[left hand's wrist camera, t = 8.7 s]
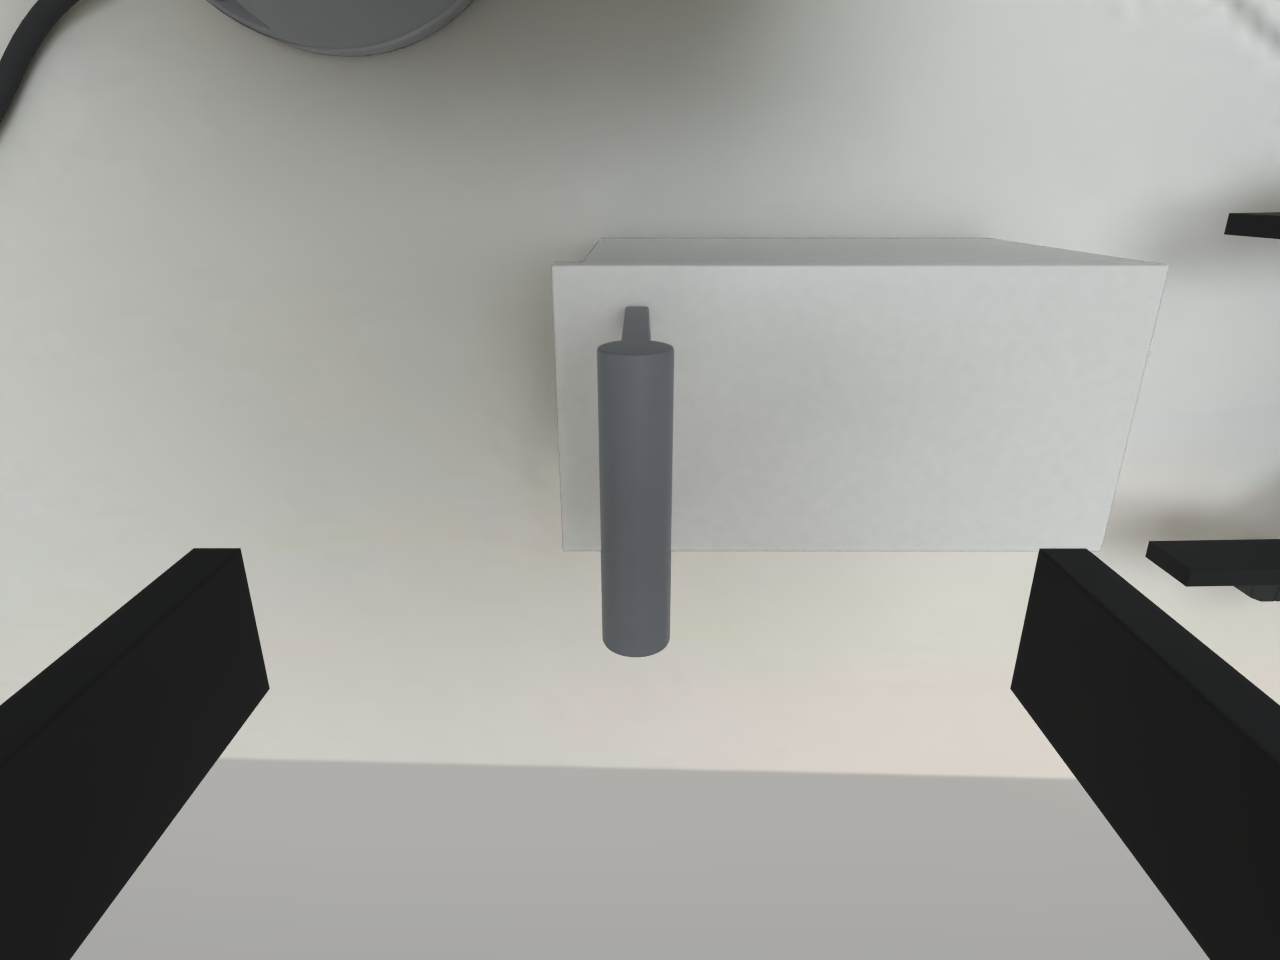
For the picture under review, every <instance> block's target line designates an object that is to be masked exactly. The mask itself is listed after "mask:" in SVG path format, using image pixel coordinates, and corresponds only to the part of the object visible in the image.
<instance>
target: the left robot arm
mask: <svg viewBox="0 0 1280 960" xmlns="http://www.w3.org/2000/svg"><path fill="white" fill-rule="evenodd" d="M77 1H79V0H38V1H37V2H36V4H35V5H34V6H33V7H32V8H31V10H30V11H29V12H28V14H27V15H26V17H25V18H24V19H23V21H22V22H21V24H20V25H19V27H18V28H17V30H16V32H15V33H14V35H13V37H12V39H11V40H10V42H9V44H8V46H7V48H6V50H5V52H4V54H3V56H2V58H1V61H0V122H1V120H2V118H3V116H4V115H5V113H6V111H7V109H8V107H9V105H10V103H11V100H12V98H13V96H14V94H15V92H16V90H17V88H18V85H19V83H20V81H21V79H22V77H23V75H24V73H25V71H26V68H27V66H28V64H29V62H30V61H31V59H32V57H33V55H34V53H35V51H36V50H37V48H38V47H39V45H40V43H41V42H42V40H43V39H44V37H45V36H46V35H47V33H48V32H49V31H50V30H51V28H52V27H53V26H54V25H55V23H56V22H57V21H58V20H59V19H60V18H61V17H62V16H63V15H64V14H65V13H66V12H67V11H68V10H69V9H70V8H71V7H72V6H73V5H74V4H75V3H76V2H77ZM207 1H208V2H209V3H211V4H212V5H213V6H215V7H216V8H217V9H219V10H220V11H221V12H223V13H224V14H226V15H228V16H229V17H231V18H232V19H234V20H236V21H237V22H239V23H240V24H242V25H244V26H246V27H248V28H250V29H252V30H254V31H256V32H258V33H260V34H263V35H265V36H268V37H270V38H273V39H275V40H278V41H280V42H283V43H285V44H288V45H291V46H293V47H296V48H300V49H304V50H307V51H311V52H315V53H321V54H327V55H336V56H365V55H374V54H380V53H385V52H389V51H393V50H396V49H400V48H403V47H406V46H408V45H411V44H413V43H415V42H418V41H420V40H422V39H424V38H426V37H428V36H429V35H431V34H433V33H435V32H436V31H438V30H439V29H441V28H442V27H444V26H445V25H446V24H448V23H449V22H450V21H452V20H453V19H454V18H455V17H456V16H458V15H459V14H460V13H461V12H462V11H463V10H464V9H465V8H466V7H467V6H468V5H469V4H470V3H471V2H472V1H473V0H207ZM269 689H270V688H269V684H268V679H267V674H266V669H265V664H264V660H263V655H262V650H261V645H260V640H259V635H258V631H257V626H256V621H255V616H254V611H253V607H252V602H251V597H250V592H249V587H248V582H247V578H246V573H245V568H244V563H243V558H242V554H241V549H240V548H194V549H192V550H191V551H190V552H189V553H188V554H186V555H185V556H184V557H183V558H181V559H180V560H179V561H178V562H176V563H175V564H174V565H173V566H172V567H170V568H169V569H168V570H167V571H165V572H164V573H163V574H162V575H160V576H159V577H158V578H157V579H155V580H154V581H153V582H152V583H151V584H149V585H148V586H147V587H146V588H144V589H143V590H142V591H141V592H139V593H138V594H137V595H136V596H135V597H133V598H132V599H131V600H130V601H128V602H127V603H126V604H125V605H123V606H122V607H121V608H120V609H119V610H117V611H116V612H115V613H114V614H112V615H111V616H110V617H109V618H107V619H106V620H105V621H104V622H103V623H101V624H100V625H99V626H98V627H96V628H95V629H94V630H93V631H91V632H90V633H89V634H88V635H87V636H85V637H84V638H83V639H82V640H80V641H79V642H78V643H77V644H75V645H74V646H73V647H72V648H71V649H69V650H68V651H67V652H66V653H64V654H63V655H62V656H61V657H59V658H58V659H57V660H56V661H55V662H53V663H52V664H51V665H50V666H48V667H47V668H46V669H45V670H43V671H42V672H41V673H40V674H38V675H37V676H36V677H35V678H34V679H32V680H31V681H30V682H29V683H27V684H26V685H25V686H24V687H22V688H21V689H20V690H19V691H18V692H16V693H15V694H14V695H13V696H11V697H10V698H9V699H8V700H6V701H5V702H4V703H3V704H2V705H0V960H70V959H71V957H72V956H73V955H74V953H75V952H76V951H77V949H78V948H79V947H80V945H81V944H82V942H83V941H84V940H85V938H86V937H87V936H88V934H89V933H90V932H91V930H92V929H93V928H94V926H95V925H96V923H97V922H98V921H99V919H100V918H101V917H102V915H103V914H104V913H105V911H106V910H107V909H108V907H109V906H110V904H111V903H112V902H113V900H114V899H115V898H116V896H117V895H118V894H119V892H120V891H121V890H122V888H123V887H124V886H125V884H126V883H127V881H128V880H129V879H130V877H131V876H132V875H133V873H134V872H135V871H136V869H137V868H138V866H139V865H140V864H141V862H142V861H143V860H144V858H145V857H146V856H147V854H148V853H149V852H150V850H151V849H152V847H153V846H154V845H155V843H156V842H157V841H158V839H159V838H160V837H161V835H162V834H163V833H164V831H165V830H166V828H167V827H168V826H169V824H170V823H171V822H172V820H173V819H174V818H175V816H176V815H177V814H178V812H179V811H180V810H181V808H182V807H183V805H184V804H185V803H186V801H187V800H188V799H189V797H190V796H191V795H192V793H193V792H194V790H195V789H196V788H197V786H198V785H199V784H200V782H201V781H202V780H203V778H204V777H205V776H206V774H207V773H208V772H209V770H210V769H211V767H212V766H213V765H214V763H215V762H216V761H217V759H218V758H219V757H220V755H221V754H222V753H223V751H224V750H225V748H226V747H227V746H228V744H229V743H230V742H231V740H232V739H233V738H234V736H235V735H236V734H237V732H238V731H239V729H240V728H241V727H242V725H243V724H244V723H245V721H246V720H247V719H248V717H249V716H250V715H251V713H252V712H253V710H254V709H255V708H256V706H257V705H258V704H259V702H260V701H261V700H262V698H263V697H264V696H265V694H266V693H267V691H268V690H269ZM1010 689H1011V690H1012V691H1013V693H1014V694H1015V696H1016V697H1017V698H1018V700H1019V701H1020V702H1021V704H1022V705H1023V706H1024V708H1025V709H1026V710H1027V712H1028V713H1029V715H1030V716H1031V717H1032V719H1033V720H1034V721H1035V723H1036V724H1037V725H1038V727H1039V728H1040V729H1041V731H1042V732H1043V734H1044V735H1045V736H1046V738H1047V739H1048V740H1049V742H1050V743H1051V744H1052V746H1053V747H1054V748H1055V750H1056V751H1057V753H1058V754H1059V755H1060V757H1061V758H1062V759H1063V761H1064V762H1065V763H1066V765H1067V766H1068V767H1069V769H1070V770H1071V772H1072V773H1073V774H1074V776H1075V777H1076V778H1077V780H1078V781H1079V782H1080V784H1081V785H1082V786H1083V788H1084V789H1085V791H1086V792H1087V793H1088V795H1089V796H1090V797H1091V799H1092V800H1093V801H1094V803H1095V804H1096V805H1097V807H1098V808H1099V809H1100V811H1101V812H1102V814H1103V815H1104V816H1105V818H1106V819H1107V820H1108V822H1109V823H1110V824H1111V826H1112V827H1113V829H1114V830H1115V831H1116V833H1117V834H1118V835H1119V837H1120V838H1121V839H1122V841H1123V842H1124V843H1125V845H1126V846H1127V847H1128V849H1129V850H1130V852H1131V853H1132V854H1133V856H1134V857H1135V858H1136V860H1137V861H1138V862H1139V864H1140V865H1141V866H1142V868H1143V869H1144V871H1145V872H1146V873H1147V875H1148V876H1149V877H1150V879H1151V880H1152V881H1153V883H1154V884H1155V885H1156V887H1157V888H1158V890H1159V891H1160V892H1161V894H1162V895H1163V896H1164V898H1165V899H1166V900H1167V902H1168V903H1169V905H1170V906H1171V907H1172V909H1173V910H1174V911H1175V913H1176V914H1177V915H1178V917H1179V918H1180V919H1181V921H1182V922H1183V924H1184V925H1185V926H1186V928H1187V929H1188V930H1189V932H1190V933H1191V934H1192V936H1193V937H1194V938H1195V940H1196V941H1197V942H1198V944H1199V945H1200V947H1201V948H1202V949H1203V951H1204V952H1205V953H1206V955H1207V956H1208V957H1209V959H1210V960H1280V705H1278V704H1277V703H1276V702H1275V701H1274V700H1272V699H1271V698H1270V697H1269V696H1267V695H1266V694H1265V693H1264V692H1262V691H1261V690H1260V689H1259V688H1258V687H1256V686H1255V685H1254V684H1253V683H1251V682H1250V681H1249V680H1248V679H1246V678H1245V677H1244V676H1243V675H1242V674H1240V673H1239V672H1238V671H1237V670H1235V669H1234V668H1233V667H1232V666H1230V665H1229V664H1228V663H1227V662H1225V661H1224V660H1223V659H1222V658H1221V657H1219V656H1218V655H1217V654H1216V653H1214V652H1213V651H1212V650H1211V649H1209V648H1208V647H1207V646H1206V645H1205V644H1203V643H1202V642H1201V641H1200V640H1198V639H1197V638H1196V637H1195V636H1193V635H1192V634H1191V633H1190V632H1189V631H1187V630H1186V629H1185V628H1184V627H1182V626H1181V625H1180V624H1179V623H1177V622H1176V621H1175V620H1174V619H1173V618H1171V617H1170V616H1169V615H1168V614H1166V613H1165V612H1164V611H1163V610H1161V609H1160V608H1159V607H1158V606H1157V605H1155V604H1154V603H1153V602H1152V601H1150V600H1149V599H1148V598H1147V597H1145V596H1144V595H1143V594H1142V593H1141V592H1139V591H1138V590H1137V589H1136V588H1134V587H1133V586H1132V585H1131V584H1129V583H1128V582H1127V581H1126V580H1125V579H1123V578H1122V577H1121V576H1120V575H1118V574H1117V573H1116V572H1115V571H1113V570H1112V569H1111V568H1110V567H1108V566H1107V565H1106V564H1105V563H1104V562H1102V561H1101V560H1100V559H1099V558H1097V557H1096V556H1095V555H1094V554H1092V553H1091V552H1090V551H1089V550H1088V549H1086V548H1040V549H1039V554H1038V558H1037V563H1036V568H1035V573H1034V578H1033V582H1032V587H1031V592H1030V597H1029V602H1028V607H1027V611H1026V616H1025V621H1024V626H1023V631H1022V635H1021V640H1020V645H1019V650H1018V655H1017V660H1016V664H1015V669H1014V674H1013V679H1012V684H1011V688H1010Z"/></svg>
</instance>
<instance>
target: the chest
mask: <svg viewBox="0 0 1280 960" xmlns="http://www.w3.org/2000/svg"><path fill="white" fill-rule="evenodd" d="M583 262H1144V261H1138V260H1132V259H1125V258H1118V257H1112V256H1105V255H1098V254H1092V253H1085V252H1078V251H1072V250H1065V249H1058V248H1052V247H1045V246H1038V245H1031V244H1025V243H1018V242H1011V241H1005V240H998V239H991V238H601V239H600V240H599V241H598V243H597V244H596V245H595V247H594V248H593V249H592V250H591V252H590V253H589V254H588V256H587V257H586V258H585V260H584V261H583Z"/></svg>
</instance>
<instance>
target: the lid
mask: <svg viewBox="0 0 1280 960" xmlns="http://www.w3.org/2000/svg"><path fill="white" fill-rule="evenodd" d="M1168 270H1169V266H1168V265H1165V264H1159V263H1152V262H555V263H554V264H553V265H552V267H551V271H552V296H553V320H554V345H555V370H556V395H557V420H558V445H559V470H560V495H561V519H562V544H563V551H601V579H602V628H603V641H604V643H605V645H606V647H607V648H608V649H609V650H611V651H612V652H614V653H617V654H619V655H623V656H628V657H645V656H650V655H653V654H656V653H658V652H660V651H661V650H663V649H664V648H665V647H666V646H667V644H668V642H669V639H670V588H671V551H1039V549H1040V548H1086V549H1088V550H1089V551H1090V552H1100V551H1101V549H1102V545H1103V541H1104V537H1105V532H1106V528H1107V524H1108V520H1109V516H1110V512H1111V507H1112V503H1113V499H1114V495H1115V491H1116V487H1117V482H1118V478H1119V474H1120V470H1121V466H1122V462H1123V457H1124V453H1125V449H1126V445H1127V441H1128V437H1129V432H1130V428H1131V424H1132V420H1133V416H1134V412H1135V407H1136V403H1137V399H1138V395H1139V391H1140V387H1141V382H1142V378H1143V374H1144V370H1145V366H1146V362H1147V357H1148V353H1149V349H1150V345H1151V341H1152V337H1153V332H1154V328H1155V324H1156V320H1157V316H1158V312H1159V307H1160V303H1161V299H1162V295H1163V291H1164V287H1165V282H1166V278H1167V274H1168Z"/></svg>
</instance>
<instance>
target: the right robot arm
mask: <svg viewBox="0 0 1280 960" xmlns="http://www.w3.org/2000/svg"><path fill="white" fill-rule="evenodd" d="M1224 234H1227V235H1239V236H1251V237H1262V238H1274V239H1280V212H1274V213H1229V217H1228V221H1227V225H1226V229H1225V233H1224ZM1146 557H1147V558H1148V559H1149V560H1151V561H1152V562H1154V563H1155V564H1156V565H1158V566H1159V567H1160V568H1162V569H1163V570H1164V571H1166V572H1167V573H1169V574H1170V575H1171V576H1173V577H1174V578H1175V579H1177V580H1178V581H1179V582H1181V583H1182V584H1183V585H1185V586H1234V587H1236V588H1237V589H1239V590H1240V591H1242V592H1243V593H1245V594H1246V595H1248V596H1249V597H1251V598H1253V599H1256V600H1259V601H1280V539H1259V540H1197V541H1149V544H1148V548H1147V553H1146Z"/></svg>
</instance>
